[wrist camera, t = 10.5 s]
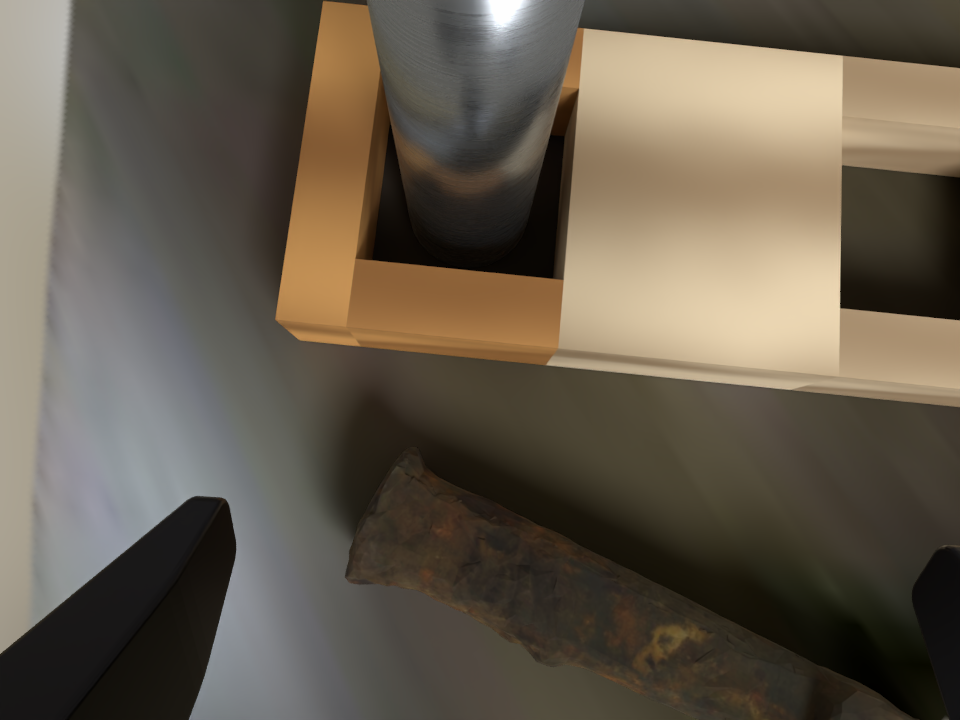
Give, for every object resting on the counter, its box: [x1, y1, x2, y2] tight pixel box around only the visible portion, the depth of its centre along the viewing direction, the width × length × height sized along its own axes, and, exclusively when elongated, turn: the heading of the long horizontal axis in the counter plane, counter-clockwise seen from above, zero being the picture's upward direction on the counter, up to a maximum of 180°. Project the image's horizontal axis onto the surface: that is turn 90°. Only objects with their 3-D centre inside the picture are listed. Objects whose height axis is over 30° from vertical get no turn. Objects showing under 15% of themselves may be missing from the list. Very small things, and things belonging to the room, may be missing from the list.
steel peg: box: [367, 0, 585, 268], centre depth 17 cm, size 4×4×13 cm
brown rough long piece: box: [345, 447, 919, 720], centre depth 19 cm, size 19×4×5 cm, turn 63°
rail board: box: [275, 1, 960, 407], centre depth 22 cm, size 10×25×3 cm, turn 84°
